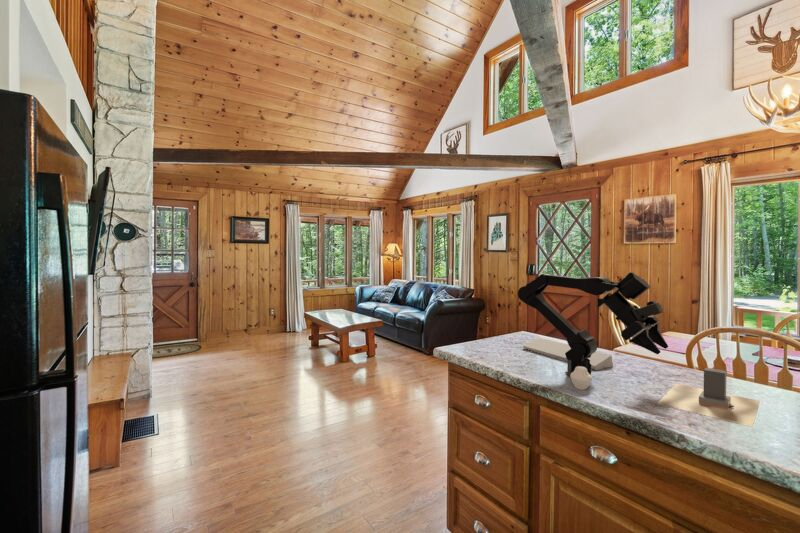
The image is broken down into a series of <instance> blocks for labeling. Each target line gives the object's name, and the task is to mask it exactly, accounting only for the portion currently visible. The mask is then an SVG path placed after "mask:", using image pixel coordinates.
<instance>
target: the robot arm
mask: <svg viewBox="0 0 800 533" xmlns="http://www.w3.org/2000/svg"><path fill="white" fill-rule="evenodd" d="M549 286H552V287H559V288H567V289H576V290H579V291H581V292H584V293H587V294H590V295H594V296H602V295H604V297H598V298H597V303H596V304H597V305H596V306H597V308H600V307H603V306H605V307H607V308H608V309H609V310H610V312H612V313H613V315H614V316H615V320H616V321H620V322H621V323H622V324H623V325H624V326H625V328H624V329H623V330H621V332H620V336H621V337H622V339H623V340H624V341H625V342H626V341H628V342H629V343H633V344H634V345H637V346H638V347H642V348H643V349H645V350H647V351H649V352H652V353H654V354H656V355H660V354H661V350H660V349H659V347H661V348H663V349H665V350H666V349H668V348H669V345H668V343H667V342H666V340H665V339H664V336H663V335H662V333H661V331H660V324H661V322H659V321H660V319H659V318H658V317H657V315H659V314H660V315H661V314H662V313H664V310H663V309H662V304H660V302H656V301H655V300H651V301H647V302H646V305H645V306H642V307H639V306H637V305H633V304H631V303H630V301H628V300H630V299H631V300H634V301H635V300H636V299H637V298H639V297H640V296H642V295H643V293H645V292H646V291H648V290H649V289H650V288H651V286H650V284H649V283H648V282H647V281H646V280H645V279H644V278H642V277H640V276H639V275H637V274H636V273H634V272H632V271H630V272H629V273H628V274H626V275H625V277H624V278H623V279H621V280H619V282H618V281H612V280H610V279H609V278H608V277H605V276H599V277H598V276H596V277H594V276H593V277H573V276H568V275H567V276H565V275H556V274H550V273H542V274H539V275H538V276H537V277H536V278H534V280H532V281H530V282H528V283H527V284H526V285H525V286H520V288H519V289H518V291H517V297H518V299H519V300H520V301H521V302H522V303H524V304H525V305H527V306H529V307H530V308H533V309H534V310H536V311H537V312H538V313H539V314H540V315H541V316H543V317H544V319H546V320H547V322H549V324H551V325H552V326H553V327H554V329H556V330H557V331H558V332H559V333H560V334H561V335H562V336H563V337H564V338H565V340H566V342H567V344H568V345H569V346H570V348H571V349H570V350H569V351H567V352H566V353H565V355H566V358H567V360H568V362H567V370H566V371H565V372H564V373H565V374H566V375H567V376H568V377H570V374H571V373H572V372H573V371H574V370H575V368H576V367H577V366H583V367H585V368H586V369H587V372H588V373H589V374H590V375H591V376H592V369H591V364H590V360H589V359H588V358H590V357H591V355H592V354H593V353H594V352H597V350H598V343H597V341H596V340H595V338H596V337H594V336H593V335H591V334H590V333H589V331H587V329H582V330H578V328H577V329H576V328H575V326H573V325H572V324H571V323H570V322H569V321H568V320H567V319H566V318H565V317H564V316H563V315H562V314H560V312H558V310H556V309H555V308H554V307H553V306H552V305H551V304H550V303H549V302H547V300H546V298H545V295H544V294H543V292H544V291H545V290H546V289H547V288H548V287H549ZM611 291H614V292H613V293H611ZM657 345H658V346H659V347H658V346H657Z"/></svg>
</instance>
